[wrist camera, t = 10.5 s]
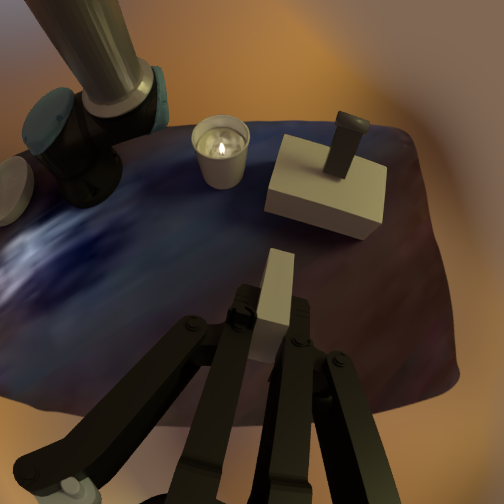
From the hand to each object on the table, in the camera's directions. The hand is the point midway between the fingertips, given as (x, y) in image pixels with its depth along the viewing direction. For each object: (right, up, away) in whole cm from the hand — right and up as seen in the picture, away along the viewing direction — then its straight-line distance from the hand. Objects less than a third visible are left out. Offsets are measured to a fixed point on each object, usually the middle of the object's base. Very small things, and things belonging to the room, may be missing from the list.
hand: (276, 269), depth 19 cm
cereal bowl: (-58, +14, +38) cm, 71 cm away
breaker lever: (+12, +14, +31) cm, 36 cm away
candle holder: (-7, +17, +41) cm, 45 cm away
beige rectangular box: (+12, +12, +40) cm, 43 cm away
